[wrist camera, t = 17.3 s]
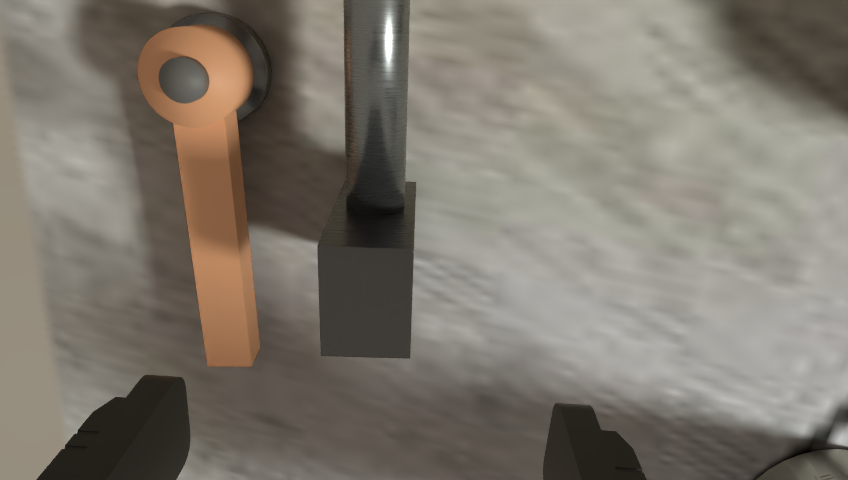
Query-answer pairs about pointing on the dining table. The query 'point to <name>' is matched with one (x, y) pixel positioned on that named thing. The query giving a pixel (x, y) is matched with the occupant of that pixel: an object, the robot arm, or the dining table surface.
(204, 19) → the dark grey puck
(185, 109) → the latch bar
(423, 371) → the dining table surface
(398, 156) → the dark grey hammer
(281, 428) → the dining table surface
